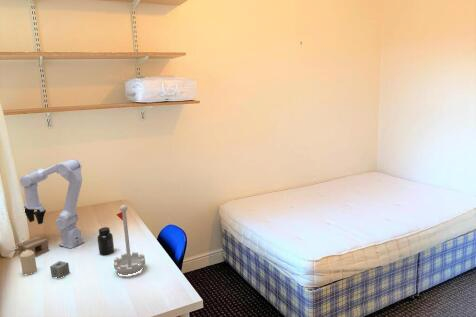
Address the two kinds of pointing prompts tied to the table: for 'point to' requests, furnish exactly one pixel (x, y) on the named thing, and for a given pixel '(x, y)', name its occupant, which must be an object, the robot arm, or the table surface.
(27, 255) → the candle
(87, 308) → the table surface
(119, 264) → the flag stand
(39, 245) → the block
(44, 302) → the table surface
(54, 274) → the dice cube
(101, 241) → the supplement bottle
